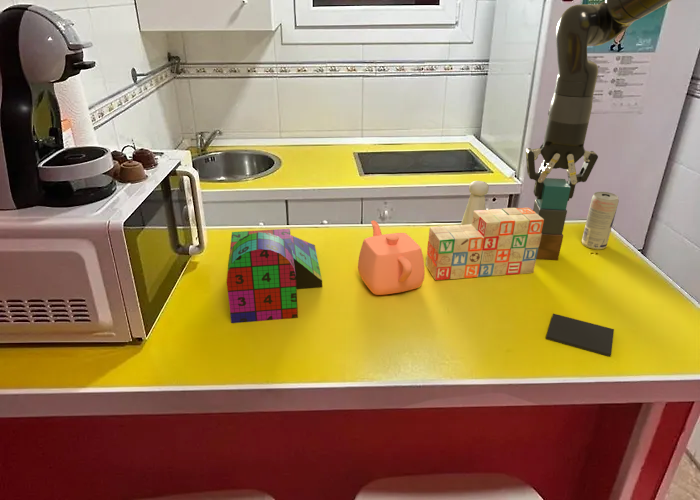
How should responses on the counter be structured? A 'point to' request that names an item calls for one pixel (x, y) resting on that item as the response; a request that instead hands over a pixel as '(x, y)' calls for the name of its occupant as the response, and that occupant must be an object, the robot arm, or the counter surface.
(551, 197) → the teal top block
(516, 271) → the stack of blocks
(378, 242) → the teapot
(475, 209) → the beige tapered round-topped piece
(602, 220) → the energy drink
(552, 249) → the walnut base block
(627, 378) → the counter surface
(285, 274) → the checkered arched block
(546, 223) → the charcoal middle block
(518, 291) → the counter surface
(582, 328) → the rubber mat
